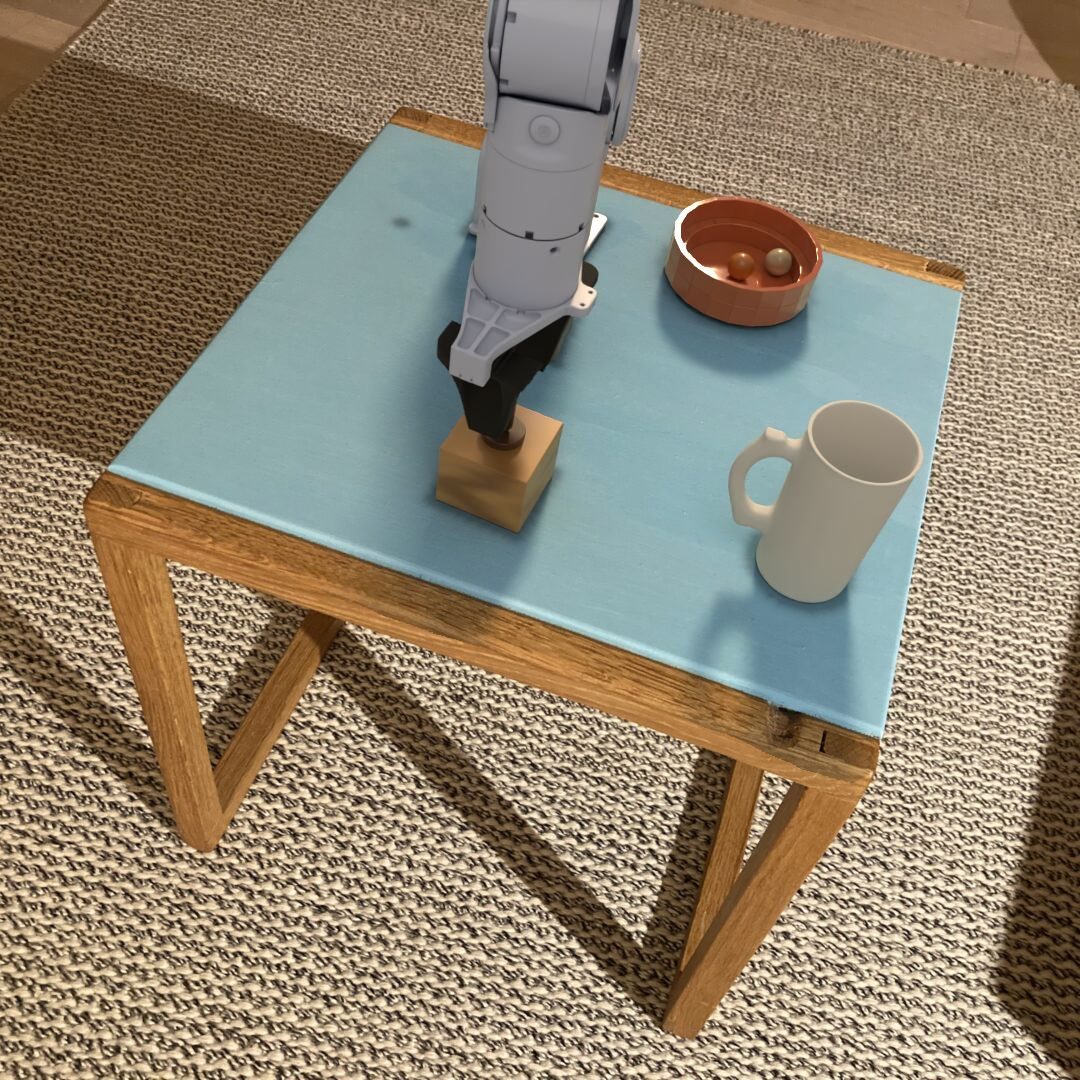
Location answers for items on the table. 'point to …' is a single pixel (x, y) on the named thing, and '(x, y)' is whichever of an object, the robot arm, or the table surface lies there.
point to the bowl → (753, 229)
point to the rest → (498, 470)
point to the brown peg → (508, 435)
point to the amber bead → (740, 266)
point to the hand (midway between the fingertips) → (508, 396)
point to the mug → (827, 495)
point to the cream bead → (778, 262)
